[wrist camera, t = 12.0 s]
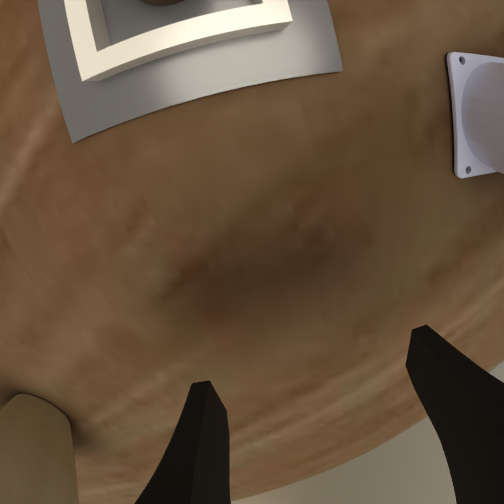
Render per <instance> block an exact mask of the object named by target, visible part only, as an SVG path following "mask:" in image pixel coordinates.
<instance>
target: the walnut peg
mask: <svg viewBox="0 0 504 504" xmlns="http://www.w3.org/2000/svg"><path fill="white" fill-rule="evenodd" d="M140 1H142V2H144V3H147V4H150V5H156V6H166V5H172V4H177V3H179V2H182V1H184V0H140Z"/></svg>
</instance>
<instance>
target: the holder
mask: <svg viewBox="0 0 504 504" xmlns="http://www.w3.org/2000/svg"><path fill="white" fill-rule="evenodd" d="M38 5H39V12H40V18H41V23H42V29H43V34H44V39H45V44H46V49H47V54H48V58H49V62H50V67H51V71H52V75H53V79H54V83H55V87H56V90H57V94H58V98H59V101H60V105H61V108H62V112H63V115H64V118H65V122H66V125H67V128H68V131H69V134H70V137H71V141H72V143H74V142H76V141H78V140H81V139H83V138H85V137H87V136H90V135H92V134H95V133H97V132H99V131H102V130H104V129H107V128H109V127H112V126H115V125H117V124H120V123H123V122H125V121H128V120H131V119H133V118H136V117H139V116H142V115H145V114H148V113H151V112H154V111H157V110H160V109H163V108H166V107H169V106H173V105H176V104H179V103H183V102H186V101H189V100H193V99H197V98H200V97H204V96H208V95H211V94H215V93H219V92H223V91H228V90H232V89H236V88H241V87H245V86H250V85H255V84H260V83H265V82H270V81H275V80H281V79H287V78H293V77H299V76H306V75H313V74H321V73H329V72H338V71H343V67H342V62H341V57H340V52H339V48H338V43H337V39H336V34H335V30H334V26H333V22H332V18H331V14H330V10H329V6H328V2H327V0H184V1H182V2H179V3H177V4H172V5H166V6H156V5H150V4H147V3H144V2H142V1H140V0H38Z"/></svg>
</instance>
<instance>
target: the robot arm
mask: <svg viewBox="0 0 504 504" xmlns="http://www.w3.org/2000/svg"><path fill="white" fill-rule="evenodd" d="M459 58H461V63H460V61H459ZM447 65H448V72H449V80H450V88H451V98H452V110H453V126H454V171H455V174H456V176H458V177H459V178H467V177H472V176H477V175H483V174H488V173H494V172H500V173H502V174H504V58H500V57H493V56H486V55H479V54H470V53H460V52H449V53H448V54H447ZM467 167H468V169H467V171H466V168H467ZM406 368H407V371H408V373H409V376H410V379H411V381H412V384H413V386H414V389H415V391H416V393H417V395H418V397H419V399H420V401H421V403H422V404H423V406H424V408H425V410H426V412H427V414H428V416H429V418H430V420H431V422H432V424H433V426H434V428H435V430H436V432H437V434H438V436H439V439H440V441H441V444H442V447H443V450H444V453H445V456H446V459H447V463H448V466H449V470H450V474H451V477H452V482H453V486H454V491H455V496H456V501H457V504H504V383H503V382H501V381H500V380H498V379H497V378H495V377H494V376H492V375H491V374H489V373H488V372H486V371H485V370H484V369H482V368H481V367H479V366H478V365H477V364H475V363H474V362H473V361H471V360H470V359H469V358H467V357H466V356H465V355H464V354H462V353H461V352H460V351H458V350H457V349H456V348H455V347H454V346H452V345H451V344H450V343H449V342H447V341H446V340H445V339H444V338H442V337H441V336H440V335H439V334H438V333H436V332H435V331H434V330H433V329H431V328H430V327H429V326H428V325H424V326H421V327H418V328H415V329H413V330H412V333H411V338H410V344H409V350H408V355H407V360H406ZM134 504H231V501H230V488H229V428H228V420H227V412H226V409H225V407H224V405H223V404H222V402H221V400H220V398H219V396H218V395H217V393H216V391H215V389H214V387H213V386H212V384H211V382H210V381H203V382H197V383H193V384H192V385H191V387H190V390H189V393H188V396H187V399H186V402H185V405H184V408H183V411H182V413H181V416H180V419H179V421H178V424H177V426H176V428H175V431H174V433H173V436H172V438H171V440H170V443H169V445H168V447H167V449H166V451H165V453H164V455H163V457H162V459H161V461H160V463H159V465H158V467H157V469H156V471H155V472H154V474H153V476H152V478H151V479H150V481H149V483H148V484H147V486H146V487H145V489H144V490H143V492H142V493H141V495H140V496H139V498H138V499H137V501H136V502H135V503H134Z"/></svg>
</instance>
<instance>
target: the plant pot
mask: <svg viewBox="0 0 504 504" xmlns="http://www.w3.org/2000/svg"><path fill="white" fill-rule="evenodd" d="M0 504H79V496H78V485H77V475H76V466H75V457H74V449H73V441H72V434H71V427H70V422H69V420H68V419H67V417H66V416H65V415H64V414H63V413H62V412H61V411H60V410H58V409H57V408H56V407H54V406H53V405H51V404H50V403H48V402H46V401H44V400H42V399H40V398H38V397H35V396H33V395H29V394H18V395H16V396H15V397H13V398H12V399H11V400H10V401H9V402H8V403H6V404H5V405H4V406H3V407H2V408H1V409H0Z"/></svg>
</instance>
